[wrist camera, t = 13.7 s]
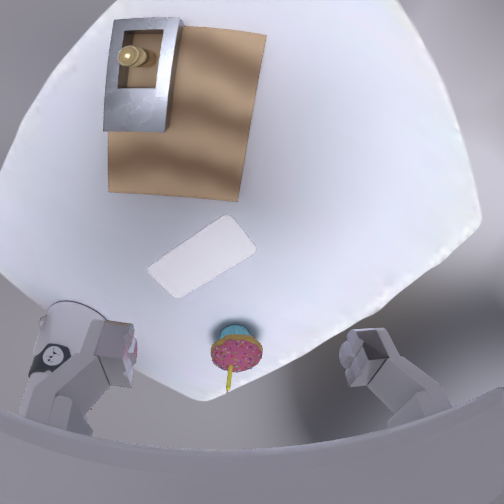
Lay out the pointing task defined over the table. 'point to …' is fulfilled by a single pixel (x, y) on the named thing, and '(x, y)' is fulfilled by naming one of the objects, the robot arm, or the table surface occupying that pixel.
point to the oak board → (193, 119)
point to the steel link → (141, 98)
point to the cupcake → (236, 351)
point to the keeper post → (136, 57)
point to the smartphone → (202, 257)
